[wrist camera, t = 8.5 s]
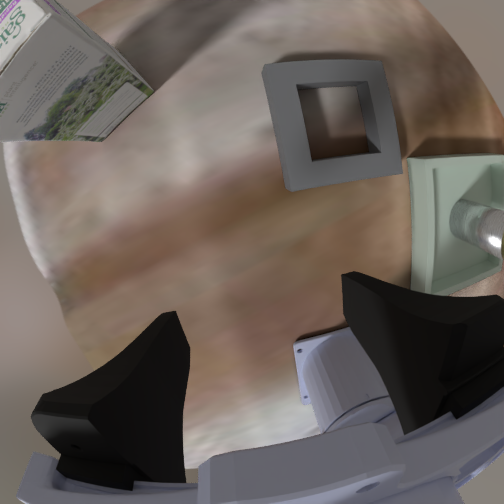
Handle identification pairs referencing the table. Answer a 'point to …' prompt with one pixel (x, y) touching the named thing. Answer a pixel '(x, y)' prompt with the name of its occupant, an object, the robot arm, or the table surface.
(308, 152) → the holder
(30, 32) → the syrup box
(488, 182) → the tray
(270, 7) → the table surface
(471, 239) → the pin
